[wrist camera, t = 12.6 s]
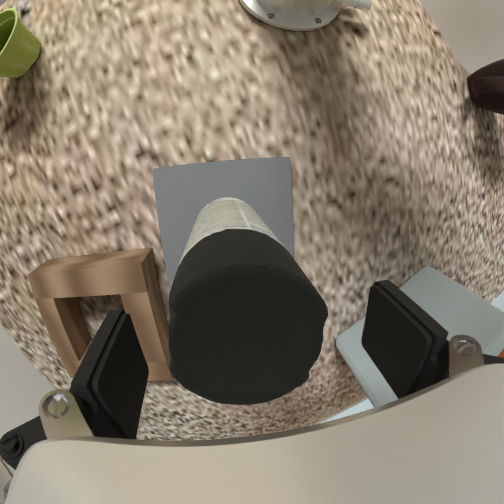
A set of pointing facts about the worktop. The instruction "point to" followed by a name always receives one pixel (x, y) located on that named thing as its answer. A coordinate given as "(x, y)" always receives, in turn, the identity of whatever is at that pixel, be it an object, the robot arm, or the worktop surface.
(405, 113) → the worktop surface
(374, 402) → the alarm clock
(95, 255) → the walnut collar
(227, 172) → the slate coaster
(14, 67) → the plant pot
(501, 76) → the cup
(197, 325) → the spray can
